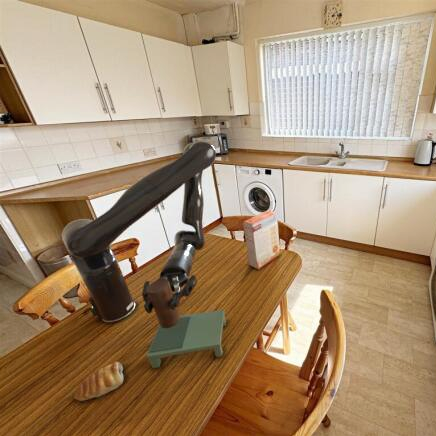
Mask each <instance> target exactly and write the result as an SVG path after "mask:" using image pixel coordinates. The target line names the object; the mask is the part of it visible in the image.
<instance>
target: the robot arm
mask: <svg viewBox="0 0 436 436" xmlns="http://www.w3.org/2000/svg"><path fill="white" fill-rule="evenodd" d="M216 158H217V151H216V149H215V147H214V146H213V144H211V143H209V142H208V141H203V140H199V141H193V142H190V143H188V144H186V146H185V147H184V149H183V151H182V155H180V156H179V157H178V158H177V159H175V160H173V161H172V162H169V163H168V164H165V165H163V166H161V167H160V168H156V169H155V170H153V171H151V172H149V173H148V174H145V175H144V176H143V177H141V178H140V179H138V180H137V181H135V182H134V183H133V184H131V186H129V187H128V188H127V189H126V190H125V191H124V192H123V193H122V194H121V196H120V197H119V198H118V199H117V200H116V201H115V203H114V204H113V205H112V206H111V207H110V208H109V209H108V210H106V211H105V212H104V213H102V214H101V215H99V216H98V217H96V218H95V219H93V220H92V219H88V218H79V219H75V220H73V221H70V222H69V223H67V224H66V226H65V227H64V228H63V230H62V231H61V239H62V242H63V244H64V246H65V248H66V250H67V252H68V254H69V256H70V258H71V260H72V262H73V264H74V266H75V267H76V270H77V272H78V274H79V275H80V277H81V279H82V281H83V283H84V285H85V287H86V289H87V291H88V293H89V296H88V302H89V303H90V305H91V306H90V307H88V308H86V309H85V310H84V311H83V312H82V314H83V315H86V314H87V313H88V312H89V311H90V312H91V315H92V316H93V317H97V318H98V320H99V321H103V322H104V323H108V324H112V323H116V322H117V323H118V322H119V321H122V320H124V319H126V318H127V317H129V316H130V315H131V314H132V313H133V312H134V311H135V310H136V302H135V301H134V298H133V296H132V294H131V291H130V288H129V286H128V284H127V282H126V281H127V280H126V279H125V277H124V274H123V272H122V269H121V267H120V264H119V262H118V258H117V257H116V255H115V253H114V251H113V249H112V248H111V245H112V243H114V242H115V241H116V240H117V239H118V238H119V237H120V236H121V235H122V234H124V232H125V231H126V230H127V229H129V228H130V227H131V226H132V225H134V224H135V223H136V222H138V221H139V220H140V219H142V218H143V217H144V216H146V215H147V214H148V213H150V212H151V211H152V210H154V209H156V207H158V206H159V205H160V204H162V203H163V202H164V201H166V200H167V199H168V198H169V197H170V196H172V195H173V194H175V192H177V190H179V189H180V188H181V187H182V186H184V190H183V192H184V193H183V201H182V203H183V204H182V209H181V210H182V211H181V223H182V224H184V225H187V226H190V227H192V228H193V229H194V230H195V231H194V230H185V229H183V230H178V231H176V233H175V235H174V240H173V245H174V246H173V249H172V252H171V254H169V256H168V258H167V260H166V261H165V264H164V265H163V267H162V269H161V270H160V275H159V277H158V278H157V279H156V280H160V279H166V280H168V281H169V284H170V287H171V290H172V293H173V296H172V299H171V301H170V307H171V310H174V309H175V308H176V307H177V308H178V307H179V305H180V301H181V299H182V298H183V297H187V298H188V297H189V296H190V295H191V293H192V292H193V290H194V289H195V287H196V286H197V284H198V281H197V276H196V275H195V274H192V275H190V273H191V271H192V268H193V264H194V261H195V260H194V259H195V257H196V253H197V251H201V250H202V249H204V247H205V244H206V238H205V233H204V227H203V226H204V225H203V214H204V207H205V205H204V204H205V201H204V193H203V186H202V183H203V181H202V180H203V179H202V177H203V172H204V171H205V170H206V169H208V168H210V167H211V166H212V165H213V164H214V163H215V161H216ZM151 283H152V282H150V281H149V280H147V281H145V282H144V283H143V289H142V293H141V296H142V299H143V301H144V305H143V308H144V310H145V312H146V313H147V314H151V313H152V311H153V310H154V308H153V306H152V303H151V300H150V298H149V295H148V293H147V287H148V285H149V284H151ZM182 287H183V288H182ZM181 288H182V289H181Z"/></svg>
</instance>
